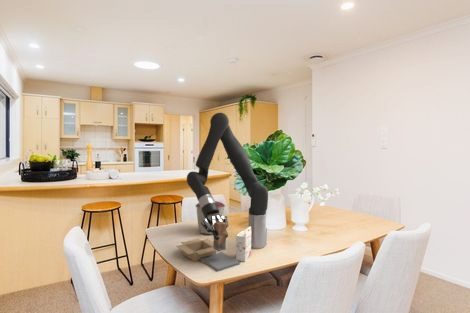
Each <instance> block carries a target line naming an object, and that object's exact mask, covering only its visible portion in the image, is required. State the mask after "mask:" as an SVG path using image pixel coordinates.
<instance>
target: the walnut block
mask: <svg viewBox="0 0 470 313" xmlns="http://www.w3.org/2000/svg"><path fill="white" fill-rule="evenodd" d="M214 224H215V228H216V231H217V233H218V235H219V237H220V238H219V239H218V240H216V239H215V238H214V237H213V240H212V241H213V249H215V250H216V252H222V251H225V250H226V248H227V247H226V246H227V245H226V243H227V242H226V241H227V238H226V231H227V228H226V223H225V222H222V221H219V222H214Z"/></svg>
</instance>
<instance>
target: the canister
mask: <svg viewBox="0 0 470 313" xmlns="http://www.w3.org/2000/svg"><path fill="white" fill-rule="evenodd" d="M215 203H216V205H217V207H218V209H219V213H220V215H221V216H224V213H225V212H224V211H225V208H226V204H224V203H223V202H222V201H215ZM195 207H196V215H197V226H198V231H199V232H200V233H201V234H204V235H213V233H212V232H209V233H208V232H207V230H206V229H205V228H204V226H203V225H202V224H201V222H202V221H203V219H205V217H204V215H203V213H202V210H201V208H200V205H199V202H198V203H196V204H195ZM221 220H222V219H221ZM208 224H209V223H208ZM209 225H210V224H209Z"/></svg>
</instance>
